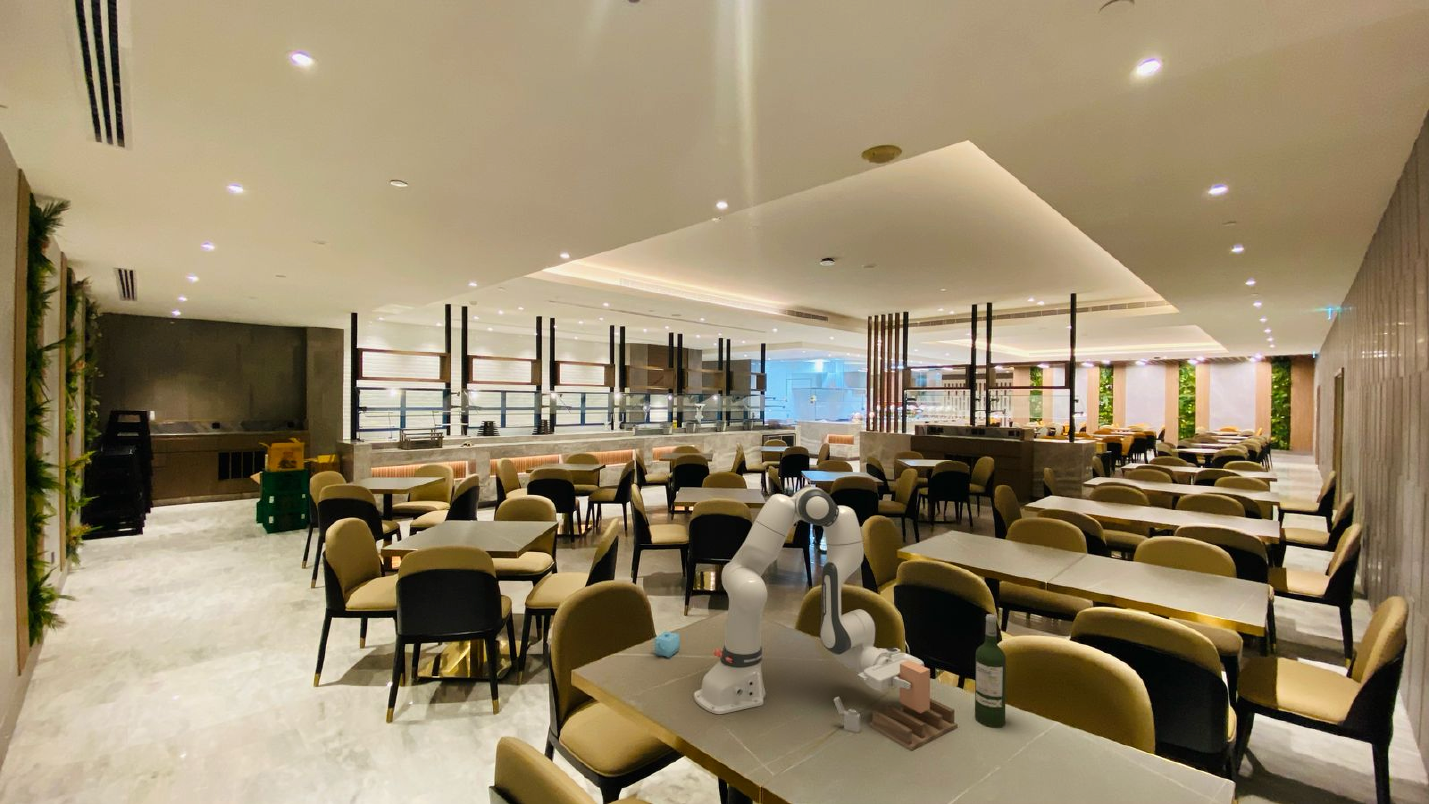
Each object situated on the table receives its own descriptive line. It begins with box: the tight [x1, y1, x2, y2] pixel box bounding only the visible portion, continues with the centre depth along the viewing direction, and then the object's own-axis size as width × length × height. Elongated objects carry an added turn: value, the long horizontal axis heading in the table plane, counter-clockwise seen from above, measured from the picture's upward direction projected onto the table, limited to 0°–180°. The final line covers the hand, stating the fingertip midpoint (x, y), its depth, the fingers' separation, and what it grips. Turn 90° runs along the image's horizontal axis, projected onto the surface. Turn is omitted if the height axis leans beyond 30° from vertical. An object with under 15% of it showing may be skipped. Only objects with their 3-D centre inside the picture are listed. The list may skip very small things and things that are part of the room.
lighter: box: [833, 696, 861, 733], centre depth 169 cm, size 7×2×8 cm, turn 66°
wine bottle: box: [974, 613, 1007, 729], centre depth 173 cm, size 8×8×30 cm
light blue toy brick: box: [654, 630, 681, 659], centre depth 216 cm, size 12×6×8 cm, turn 153°
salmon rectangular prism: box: [899, 660, 931, 713], centre depth 170 cm, size 4×7×11 cm, turn 35°
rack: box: [869, 697, 958, 752], centre depth 170 cm, size 20×14×4 cm
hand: (917, 683), depth 169 cm, fingers closed on salmon rectangular prism, 4 cm apart
